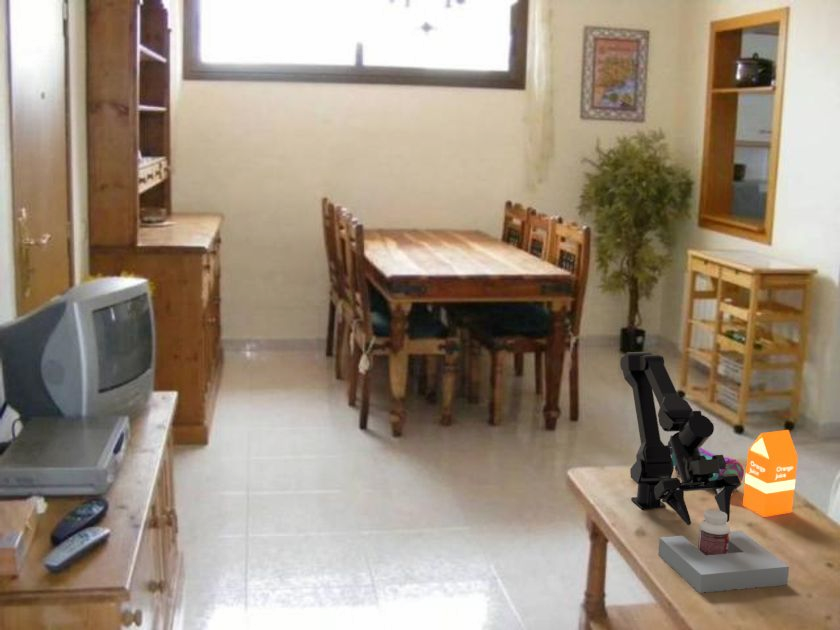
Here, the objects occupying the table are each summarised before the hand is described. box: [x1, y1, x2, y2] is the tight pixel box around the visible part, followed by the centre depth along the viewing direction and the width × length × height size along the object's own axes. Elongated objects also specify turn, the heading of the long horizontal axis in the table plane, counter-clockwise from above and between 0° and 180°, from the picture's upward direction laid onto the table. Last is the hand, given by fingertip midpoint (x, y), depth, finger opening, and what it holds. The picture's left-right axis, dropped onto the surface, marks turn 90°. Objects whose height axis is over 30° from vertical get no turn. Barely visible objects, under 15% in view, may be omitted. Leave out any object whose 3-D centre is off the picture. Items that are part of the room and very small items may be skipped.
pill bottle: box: [697, 509, 731, 555], centre depth 213 cm, size 6×6×11 cm
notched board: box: [657, 530, 790, 594], centre depth 210 cm, size 18×20×4 cm
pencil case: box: [669, 446, 745, 482], centre depth 261 cm, size 21×9×10 cm, turn 25°
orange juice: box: [742, 429, 799, 518], centre depth 242 cm, size 8×9×20 cm
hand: (708, 522), depth 215 cm, fingers open, 9 cm apart
